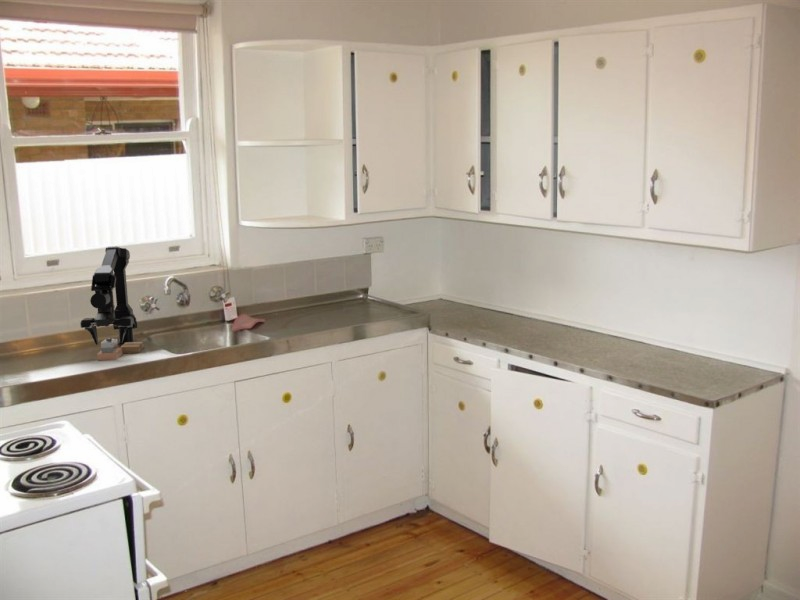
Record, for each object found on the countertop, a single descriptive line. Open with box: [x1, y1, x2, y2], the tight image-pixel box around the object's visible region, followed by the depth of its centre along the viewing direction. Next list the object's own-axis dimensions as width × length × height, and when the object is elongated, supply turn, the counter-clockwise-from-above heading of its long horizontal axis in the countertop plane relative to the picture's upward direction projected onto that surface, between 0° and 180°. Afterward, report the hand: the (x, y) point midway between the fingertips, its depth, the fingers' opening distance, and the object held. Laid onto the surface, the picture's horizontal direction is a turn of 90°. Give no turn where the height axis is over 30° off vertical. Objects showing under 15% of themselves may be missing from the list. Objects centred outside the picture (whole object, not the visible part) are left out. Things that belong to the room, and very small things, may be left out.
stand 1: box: [97, 347, 123, 361], centre depth 324 cm, size 9×7×2 cm
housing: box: [100, 337, 119, 353], centre depth 324 cm, size 7×4×5 cm, turn 5°
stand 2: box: [119, 341, 145, 354], centre depth 335 cm, size 9×7×2 cm
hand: (109, 344), depth 324 cm, fingers open, 9 cm apart
